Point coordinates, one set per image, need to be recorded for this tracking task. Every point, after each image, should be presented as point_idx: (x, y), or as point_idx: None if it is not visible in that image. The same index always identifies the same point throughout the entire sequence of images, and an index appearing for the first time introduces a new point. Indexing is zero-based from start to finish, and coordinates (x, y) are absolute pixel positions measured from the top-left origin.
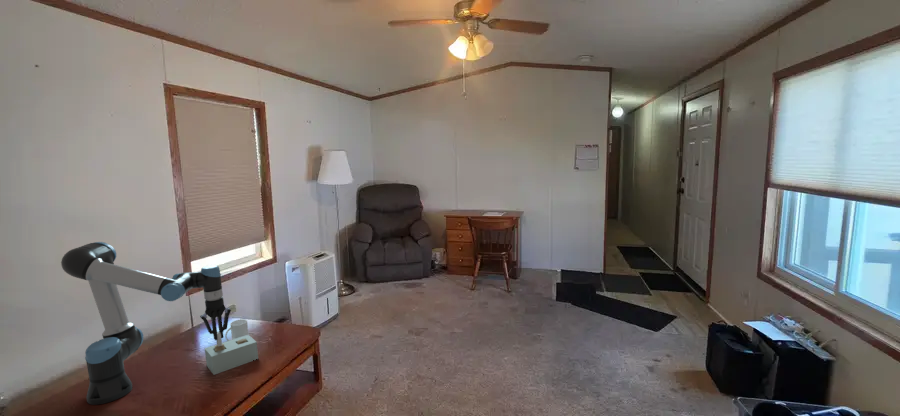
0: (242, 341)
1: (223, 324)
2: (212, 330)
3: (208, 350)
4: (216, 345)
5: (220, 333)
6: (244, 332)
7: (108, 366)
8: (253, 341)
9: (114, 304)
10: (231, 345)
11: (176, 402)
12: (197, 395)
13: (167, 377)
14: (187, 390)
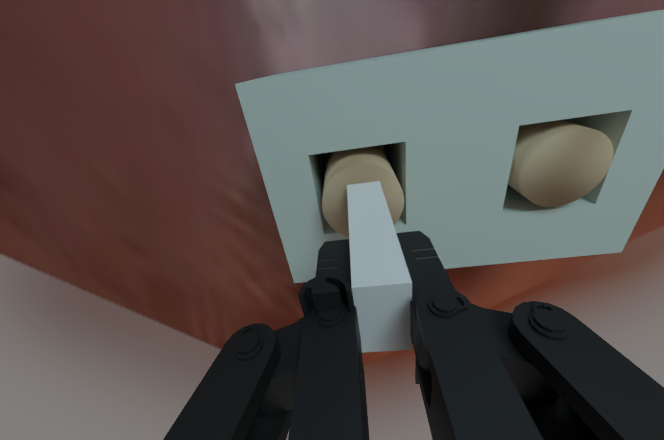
0: (558, 191)
1: (587, 424)
2: (296, 375)
3: (272, 166)
4: (340, 180)
5: (405, 340)
6: None
7: None
8: (615, 229)
9: None
10: (455, 193)
11: (194, 316)
12: (253, 316)
13: (68, 83)
14: (214, 271)
